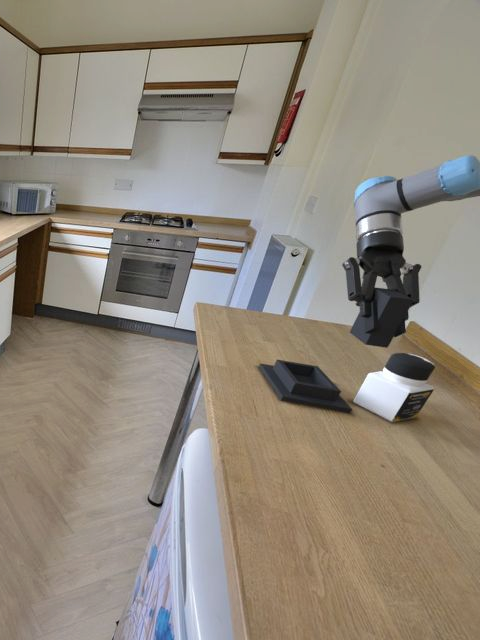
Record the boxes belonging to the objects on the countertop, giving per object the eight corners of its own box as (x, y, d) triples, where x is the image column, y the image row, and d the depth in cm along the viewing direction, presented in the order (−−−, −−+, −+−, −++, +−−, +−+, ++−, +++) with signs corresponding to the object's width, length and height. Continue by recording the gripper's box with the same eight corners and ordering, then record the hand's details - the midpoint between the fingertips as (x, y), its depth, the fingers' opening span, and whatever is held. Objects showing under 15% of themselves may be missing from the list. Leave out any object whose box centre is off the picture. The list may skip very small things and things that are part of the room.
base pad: (317, 377, 94) (324, 363, 92) (350, 413, 81) (358, 398, 79) (258, 366, 97) (263, 353, 95) (280, 400, 84) (287, 386, 82)
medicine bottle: (392, 422, 78) (425, 368, 73) (351, 402, 85) (380, 350, 79) (416, 418, 80) (451, 365, 75) (375, 397, 86) (404, 347, 81)
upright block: (369, 335, 94) (393, 289, 89) (387, 347, 88) (414, 299, 83) (349, 332, 95) (371, 286, 90) (365, 344, 89) (390, 296, 84)
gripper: (411, 252, 95) (420, 345, 88) (324, 244, 99) (326, 332, 92) (439, 233, 88) (451, 332, 81) (345, 225, 92) (348, 319, 85)
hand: (384, 332), depth 86 cm, fingers closed on upright block, 4 cm apart
